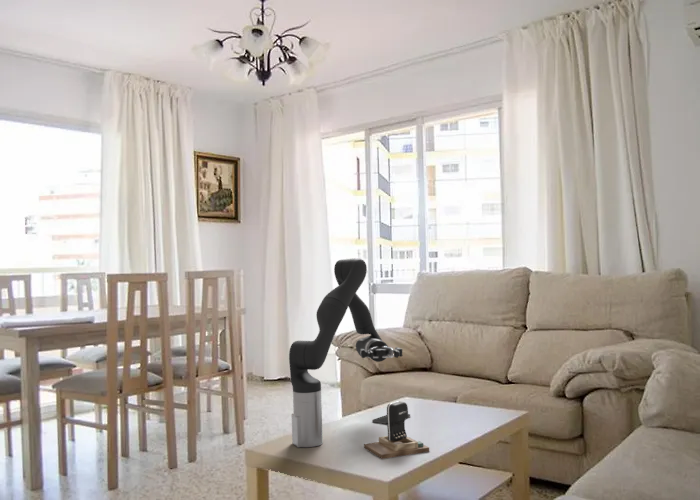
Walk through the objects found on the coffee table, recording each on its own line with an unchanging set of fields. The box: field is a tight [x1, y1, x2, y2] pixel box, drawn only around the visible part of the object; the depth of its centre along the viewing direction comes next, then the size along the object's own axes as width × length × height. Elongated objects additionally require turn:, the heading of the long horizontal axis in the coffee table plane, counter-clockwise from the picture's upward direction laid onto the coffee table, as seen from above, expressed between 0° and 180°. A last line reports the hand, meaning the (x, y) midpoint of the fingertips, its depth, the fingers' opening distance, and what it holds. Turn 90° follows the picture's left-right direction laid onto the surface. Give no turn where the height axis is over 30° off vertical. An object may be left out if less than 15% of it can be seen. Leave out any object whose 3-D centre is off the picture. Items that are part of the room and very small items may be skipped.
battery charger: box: [386, 400, 409, 441], centre depth 195 cm, size 7×4×11 cm, turn 137°
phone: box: [371, 413, 411, 426], centre depth 232 cm, size 8×1×15 cm
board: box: [363, 435, 430, 460], centre depth 193 cm, size 16×13×3 cm
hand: (384, 355), depth 210 cm, fingers open, 8 cm apart
